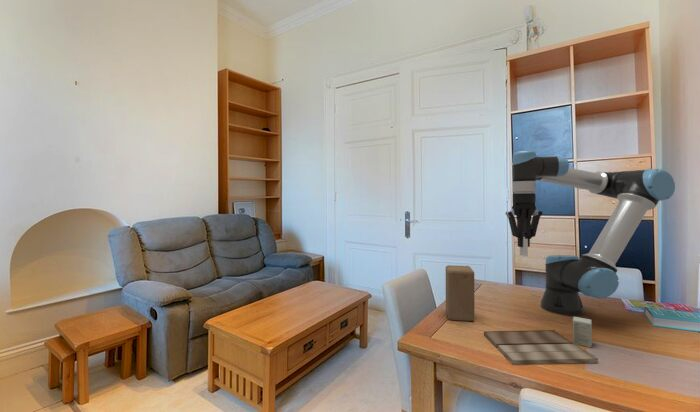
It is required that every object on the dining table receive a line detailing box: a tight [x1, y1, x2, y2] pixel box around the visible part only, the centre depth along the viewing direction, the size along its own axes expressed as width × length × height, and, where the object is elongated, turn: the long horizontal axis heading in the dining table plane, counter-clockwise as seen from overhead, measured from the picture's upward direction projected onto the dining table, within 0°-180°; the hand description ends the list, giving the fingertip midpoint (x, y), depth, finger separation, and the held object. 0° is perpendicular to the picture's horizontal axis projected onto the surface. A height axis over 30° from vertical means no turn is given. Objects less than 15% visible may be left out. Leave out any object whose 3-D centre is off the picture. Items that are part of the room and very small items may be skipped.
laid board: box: [497, 343, 599, 365], centre depth 95 cm, size 25×9×1 cm, turn 90°
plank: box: [483, 329, 574, 349], centre depth 105 cm, size 25×9×1 cm, turn 90°
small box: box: [572, 316, 593, 348], centre depth 102 cm, size 5×4×8 cm
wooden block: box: [445, 264, 475, 322], centre depth 126 cm, size 10×10×20 cm
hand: (523, 255), depth 117 cm, fingers closed
